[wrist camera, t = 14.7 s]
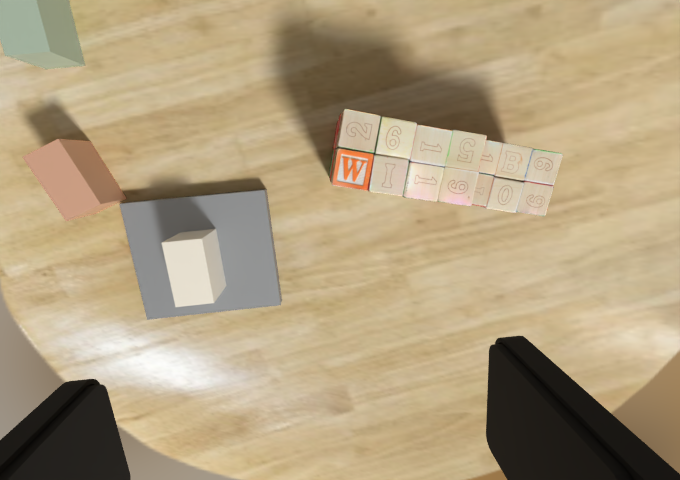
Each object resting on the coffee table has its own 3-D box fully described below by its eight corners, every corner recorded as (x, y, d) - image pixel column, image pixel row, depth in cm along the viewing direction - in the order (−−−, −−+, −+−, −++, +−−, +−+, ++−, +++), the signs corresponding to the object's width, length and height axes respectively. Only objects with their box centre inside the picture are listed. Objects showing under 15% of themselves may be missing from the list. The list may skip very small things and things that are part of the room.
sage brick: (26, -7, 35) (-22, -34, 30) (67, -10, 35) (26, -37, 30) (46, 69, 36) (5, 55, 31) (85, 65, 36) (50, 51, 32)
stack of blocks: (511, 154, 41) (590, 153, 29) (497, 206, 43) (567, 224, 31) (335, 122, 39) (343, 106, 27) (326, 177, 41) (330, 185, 29)
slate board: (126, 202, 40) (119, 204, 38) (266, 189, 40) (264, 190, 39) (153, 314, 43) (147, 319, 42) (281, 300, 44) (280, 305, 42)
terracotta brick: (59, 156, 38) (22, 156, 33) (91, 141, 38) (58, 138, 33) (96, 213, 40) (66, 221, 35) (127, 198, 40) (100, 204, 35)
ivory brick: (180, 232, 39) (161, 242, 35) (216, 228, 40) (201, 238, 35) (192, 289, 41) (175, 307, 36) (226, 285, 41) (214, 303, 36)
